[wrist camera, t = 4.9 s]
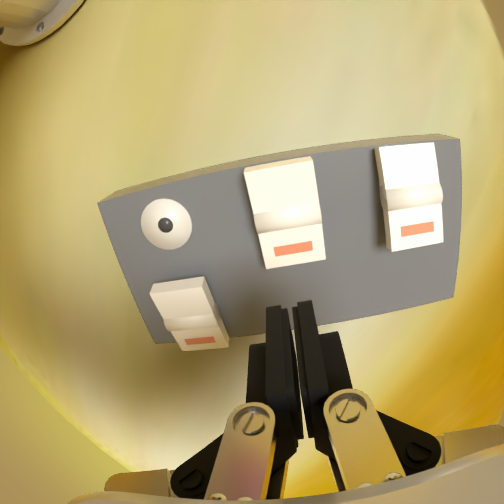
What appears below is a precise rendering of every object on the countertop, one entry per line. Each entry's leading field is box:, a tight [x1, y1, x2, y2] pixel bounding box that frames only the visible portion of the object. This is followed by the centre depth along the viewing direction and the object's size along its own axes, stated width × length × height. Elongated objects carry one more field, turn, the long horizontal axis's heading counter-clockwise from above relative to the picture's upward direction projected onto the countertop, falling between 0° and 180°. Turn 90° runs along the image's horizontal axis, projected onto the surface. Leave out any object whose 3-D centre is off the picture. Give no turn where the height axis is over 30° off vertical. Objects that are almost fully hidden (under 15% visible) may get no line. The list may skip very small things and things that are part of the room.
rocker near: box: [374, 142, 443, 252], centre depth 16 cm, size 6×4×2 cm, turn 12°
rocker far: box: [150, 276, 229, 351], centre depth 21 cm, size 6×4×2 cm, turn 12°
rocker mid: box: [244, 156, 326, 269], centre depth 17 cm, size 6×4×2 cm, turn 12°
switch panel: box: [97, 134, 462, 344], centre depth 21 cm, size 12×24×3 cm, turn 102°
